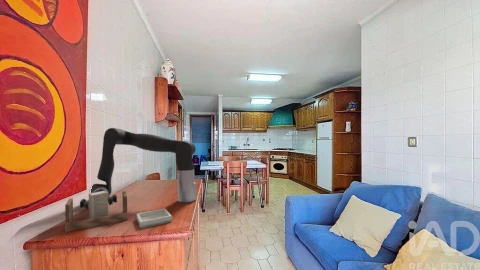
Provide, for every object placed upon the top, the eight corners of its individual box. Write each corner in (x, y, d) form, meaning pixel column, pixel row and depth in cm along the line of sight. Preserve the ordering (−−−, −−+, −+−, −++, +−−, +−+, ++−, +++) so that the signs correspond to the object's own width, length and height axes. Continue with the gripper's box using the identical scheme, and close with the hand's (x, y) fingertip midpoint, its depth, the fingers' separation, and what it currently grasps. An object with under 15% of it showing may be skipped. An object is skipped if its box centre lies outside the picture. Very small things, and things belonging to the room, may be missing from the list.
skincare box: (105, 217, 97) (104, 190, 97) (108, 219, 94) (108, 191, 95) (88, 222, 92) (88, 193, 93) (92, 224, 90) (91, 195, 90)
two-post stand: (125, 212, 104) (125, 191, 104) (127, 220, 94) (127, 196, 94) (69, 222, 93) (69, 198, 93) (65, 232, 83) (64, 205, 83)
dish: (165, 213, 101) (165, 208, 101) (171, 221, 90) (171, 215, 90) (136, 219, 94) (136, 213, 94) (140, 228, 84) (140, 222, 84)
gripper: (82, 191, 105) (78, 198, 92) (116, 187, 113) (117, 193, 99) (82, 206, 105) (78, 216, 91) (116, 201, 113) (117, 210, 99)
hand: (98, 204), depth 95 cm, fingers open, 8 cm apart
